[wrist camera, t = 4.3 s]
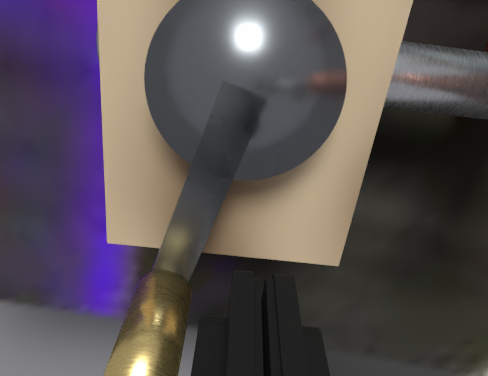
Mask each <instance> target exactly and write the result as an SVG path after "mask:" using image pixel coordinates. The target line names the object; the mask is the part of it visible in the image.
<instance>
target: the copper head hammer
mask: <svg viewBox="0 0 488 376" xmlns="http://www.w3.org/2000/svg"><path fill="white" fill-rule="evenodd" d="M97 52H98V58H99V35H98V25H97ZM99 62H100V59H99ZM383 107H386V108H395V109H403V110H411V111H419V112H428V113H436V114H444V115H453V116H461V117H469V118H477V119H486V120H488V41H487V43H486V46H485V48H484V51H483V52H482V51H474V50H466V49H458V48H451V47H443V46H435V45H428V44H420V43H412V42H404V41H402V42H401V46H400V49H399V53H398V56H397V60H396V63H395V67H394V71H393V74H392V78H391V81H390V85H389V88H388V92H387V95H386V99H385V103H384V106H383Z"/></svg>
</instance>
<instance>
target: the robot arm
mask: <svg viewBox="0 0 488 376" xmlns="http://www.w3.org/2000/svg"><path fill="white" fill-rule="evenodd" d="M191 376H330V373H329V368H328V363H327V358H326V353H325V348H324V343H323V339H322V334H321V331H320V329H319V328H314V327H304V326H301V319H300V312H299V306H298V299H297V292H296V286H295V279H294V276H293V275H283V274H273V276H272V279H269V278H265V282H264V287H263V293H262V299H261V279H260V278H258V277H253V272H252V271H243V270H233V276H232V284H231V292H230V300H229V308H228V316H227V319H220V318H209V317H200V321H199V327H198V333H197V340H196V346H195V352H194V359H193V365H192V372H191Z"/></svg>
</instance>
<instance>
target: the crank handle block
mask: <svg viewBox="0 0 488 376" xmlns="http://www.w3.org/2000/svg"><path fill="white" fill-rule="evenodd" d="M144 84H145V94H146V99H147V104H148V107H149V111H150V114H151V117H152V119H153V121H154V123H155V125H156V127H157V129H158V130H159V132H160V134H161V135H162V137H163V138H164V140H165V141H166V142H167V143H168V145H169V146H170V147H171V148H172V149H173V150H174V151H175V152H176V153H177V154H178V155H179V156H180V157H181V158H183V159H184V160H185V161H187V162H188V163H189V164H191V166H190V168H189V171H188V174H187V176H186V179H185V182H184V184H183V187H182V190H181V193H180V195H179V198H178V201H177V203H176V206H175V209H174V211H173V214H172V217H171V220H170V222H169V225H168V228H167V230H166V233H165V236H164V238H163V241H162V244H161V246H160V249H159V252H158V255H157V257H156V260H155V263H154V265H153V268H152V271H151V272H149V273H147V274H145V275H144V276H143V277H141V278H140V280H139V281H138V283H137V285H136V288H135V291H134V294H133V296H132V299H131V302H130V304H129V307H128V310H127V313H126V315H125V318H124V321H123V324H122V326H121V329H120V332H119V335H118V337H117V340H116V343H115V346H114V348H113V351H112V353H111V356H110V359H109V362H108V364H107V367H106V370H105V373H104V375H103V376H178V373H179V366H180V362H181V356H182V350H183V345H184V339H185V333H186V327H187V322H188V316H189V310H190V304H191V299H192V289H191V287H190V285H189V280H190V278H191V276H192V273H193V271H194V269H195V266H196V264H197V262H198V259H199V257H200V255H201V252H202V250H203V248H204V245H205V243H206V241H207V239H208V236H209V234H210V232H211V229H212V227H213V225H214V222H215V220H216V218H217V215H218V213H219V211H220V208H221V206H222V204H223V201H224V199H225V197H226V194H227V192H228V190H229V187H230V185H231V183H232V180H244V181H248V180H260V179H265V178H270V177H273V176H277V175H280V174H282V173H285V172H287V171H289V170H291V169H293V168H295V167H297V166H298V165H300V164H302V163H303V162H304V161H306V160H307V159H308V158H309V157H311V156H312V155H313V154H314V153H315V152H316V151H317V150H318V149H319V148H320V147H321V146H322V145H323V143H324V142H325V141H326V140H327V138H328V137H329V136H330V134H331V132H332V131H333V129H334V127H335V125H336V123H337V121H338V119H339V117H340V114H341V111H342V108H343V104H344V101H345V95H346V89H347V69H346V60H345V56H344V52H343V48H342V45H341V42H340V40H339V37H338V35H337V33H336V31H335V29H334V27H333V25H332V24H331V22H330V21H329V19H328V18H327V16H326V15H325V14H324V12H323V11H322V10H321V9H320V8H319V7H318V6H317V5H316V4H315V3H314V2H313V1H312V0H179V1H178V2H177V3H176V4H175V5H174V6H173V7H172V8H171V9H170V10H169V12H168V13H167V14H166V15H165V17H164V18H163V20H162V21H161V22H160V24H159V26H158V28H157V29H156V31H155V33H154V35H153V37H152V40H151V43H150V46H149V49H148V52H147V57H146V62H145V72H144Z"/></svg>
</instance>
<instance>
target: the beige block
mask: <svg viewBox="0 0 488 376" xmlns="http://www.w3.org/2000/svg"><path fill="white" fill-rule="evenodd" d="M178 1H179V0H97V12H98V35H99V59H100V83H101V106H102V130H103V154H104V177H105V201H106V225H107V243H112V244H122V245H132V246H142V247H152V248H160V246H161V244H162V241H163V238H164V236H165V233H166V230H167V228H168V225H169V222H170V220H171V217H172V214H173V211H174V209H175V206H176V203H177V201H178V198H179V195H180V193H181V190H182V187H183V184H184V182H185V179H186V176H187V174H188V171H189V168H190V166H191V164H189V163H188V162H187V161H185V160H184V159H183V158H181V157H180V156H179V155H178V154H177V153H176V152H175V151H174V150H173V149H172V148H171V147H170V146H169V145H168V143H167V142H166V141H165V140H164V138H163V137H162V135H161V134H160V132H159V130H158V129H157V127H156V125H155V123H154V121H153V119H152V117H151V114H150V111H149V107H148V104H147V99H146V94H145V84H144V72H145V62H146V57H147V52H148V49H149V46H150V43H151V40H152V37H153V35H154V33H155V31H156V29H157V28H158V26H159V24H160V22H161V21H162V20H163V18H164V17H165V15H166V14H167V13H168V12H169V10H170V9H171V8H172V7H173V6H174V5H175V4H176V3H177V2H178ZM312 1H313V2H314V3H315V4H316V5H317V6H318V7H319V8H320V9H321V10H322V11H323V12H324V14H325V15H326V16H327V18H328V19H329V21H330V22H331V24H332V25H333V27H334V29H335V31H336V33H337V35H338V37H339V40H340V42H341V45H342V48H343V52H344V56H345V60H346V69H347V89H346V95H345V101H344V104H343V108H342V111H341V114H340V117H339V119H338V121H337V123H336V125H335V127H334V129H333V131H332V132H331V134H330V136H329V137H328V138H327V140H326V141H325V142H324V143H323V145H322V146H321V147H320V148H319V149H318V150H317V151H316V152H315V153H314V154H313V155H312V156H311V157H309V158H308V159H307V160H306V161H304V162H303V163H302V164H300V165H298V166H297V167H295V168H293V169H291V170H289V171H287V172H285V173H282V174H280V175H277V176H273V177H270V178H265V179H260V180H248V181H244V180H232V183H231V185H230V187H229V190H228V192H227V194H226V197H225V199H224V201H223V204H222V206H221V208H220V211H219V213H218V215H217V218H216V220H215V222H214V225H213V227H212V229H211V232H210V234H209V236H208V239H207V241H206V243H205V245H204V248H203V250H202V253H212V254H222V255H232V256H242V257H252V258H262V259H272V260H282V261H292V262H302V263H312V264H322V265H332V266H339V263H340V259H341V256H342V252H343V249H344V245H345V241H346V238H347V234H348V231H349V227H350V224H351V220H352V216H353V213H354V209H355V206H356V202H357V199H358V195H359V192H360V188H361V184H362V181H363V177H364V174H365V170H366V167H367V163H368V160H369V156H370V152H371V149H372V145H373V142H374V138H375V135H376V131H377V127H378V124H379V120H380V117H381V113H382V110H383V106H384V103H385V99H386V95H387V92H388V88H389V85H390V81H391V78H392V74H393V71H394V67H395V63H396V60H397V56H398V53H399V49H400V46H401V42H402V38H403V35H404V31H405V28H406V24H407V21H408V17H409V14H410V10H411V6H412V3H413V0H312Z"/></svg>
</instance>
